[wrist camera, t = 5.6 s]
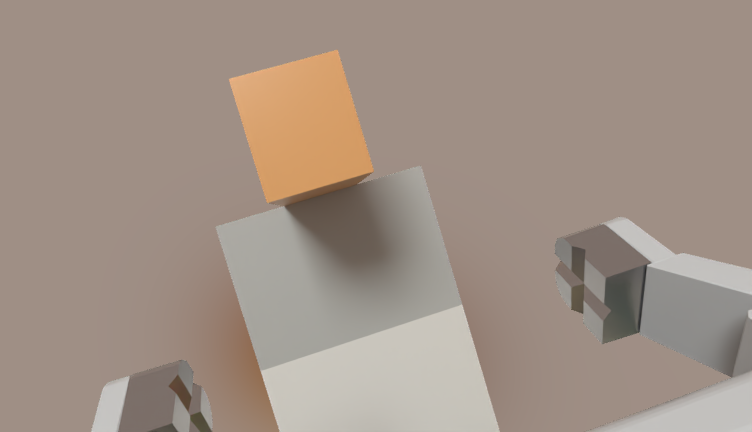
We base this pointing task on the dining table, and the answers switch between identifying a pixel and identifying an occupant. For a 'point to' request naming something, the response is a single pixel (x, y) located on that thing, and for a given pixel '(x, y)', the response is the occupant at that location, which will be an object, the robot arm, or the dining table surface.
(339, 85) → the orange block
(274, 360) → the tall tower
